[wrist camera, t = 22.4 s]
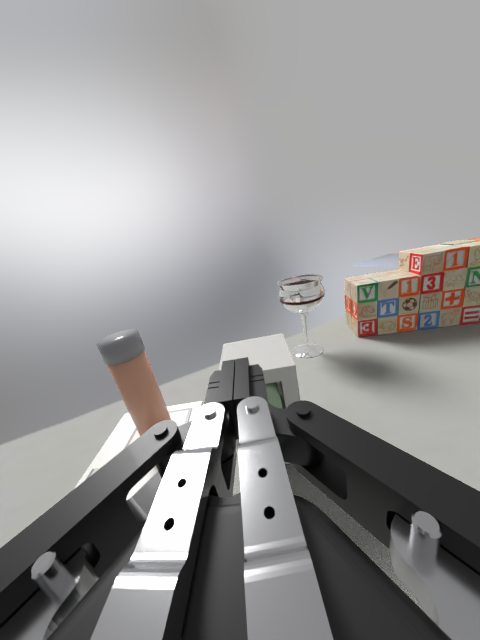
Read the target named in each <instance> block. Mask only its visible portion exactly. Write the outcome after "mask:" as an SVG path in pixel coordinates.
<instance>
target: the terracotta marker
mask: <svg viewBox="0 0 480 640" xmlns="http://www.w3.org/2000/svg"><path fill="white" fill-rule="evenodd" d="M97 347H98V349H99V351H100V353H101V355H102V357H103V360H104V362H105V363H106V365H108V368H109V370H110V372H111V374H112V376H113V378H114V381H115V383H116V385H117V387H118V389H119V392H120V394H121V396H122V398H123V400H124V402H125V405H126V407H127V409H128V411H129V413H130V415H131V418H132V420H133V422H134V424H135V426H136V429H137V431H138V433H139V435H140V436H141V435H142V434H144V433H145V432H146V431H147V430H149V429H150V428H151V427H152V426H154V425H155V424H157V423H158V422H161V421H164V420H171V417H170V415H169V412H168V410H167V407H166V405H165V402H164V399H163V397H162V394H161V392H160V389H159V386H158V384H157V381H156V379H155V376H154V374H153V371H152V369H151V366H150V363H149V361H148V358H147V355H146V353H145V347H144V345H143V342H142V340H141V337H140V334H139V332H138V330H137V329H129V330H124V331H120V332H117V333H114V334H112V335H109V336H107V337H105V338H103V339H102V340H100V341H99V342H98V343H97Z"/></svg>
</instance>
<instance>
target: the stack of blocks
mask: <svg viewBox="0 0 480 640" xmlns="http://www.w3.org/2000/svg"><path fill="white" fill-rule="evenodd" d="M345 307H346V323H347V325H348V326H349V327H350V328H351V330H352V331H353V332H354V333H355V335H356V336H357V337H362V336H370V335H376V334H377V335H381V334H390V333H396V332H406V331H415V330H421V329H429V328H437V327H445V326H453V325H463V324H471V323H479V322H480V238H475V239H469V240H457V241H451V242H445V243H441V244H440V245H433V246H427V247H421V248H416V249H410V250H405V251H400V252H399V269H398V270H392V271H386V272H379V273H373V274H367V275H362V276H355V277H350V278H345Z"/></svg>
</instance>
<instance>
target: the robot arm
mask: <svg viewBox="0 0 480 640" xmlns="http://www.w3.org/2000/svg"><path fill="white" fill-rule="evenodd" d="M238 439H239V443H240V444H238V461H239V476H240V491H241V493H239V494H236V495H234V496H233V486H234V476H235V466H236V457H237V454H236V449H235V448H236V440H238ZM284 462H288V463H293V464H294V466H295V468H296V469H297V470H298V471H299V472H300V473H301V474H302V475H304V476H305V477H306V478H307V479H308V480H309V481H311V482H312V483H313V484H314V485H315V486H316V487H318V488H319V489H320V490H321V491H322V492H323V493H325V494H326V495H327V496H328V497H329V498H330V499H332V500H333V501H334V502H335V503H336V504H337V505H339V506H340V507H341V508H342V509H343V510H344V511H346V512H347V513H348V514H349V515H350V516H351V517H353V518H354V519H355V520H356V521H357V522H358V523H360V524H361V525H362V526H363V527H364V528H365V529H367V530H368V531H369V532H370V533H371V534H372V535H374V536H375V537H376V538H377V539H378V540H379V541H381V542H382V543H383V544H384V545H385V546H386V547H388V548H389V556H390V561H391V564H392V567H393V569H394V571H395V573H396V575H397V576H398V578H399V579H400V581H401V582H402V583H403V585H404V586H405V587H406V588H407V589H408V590H409V591H410V592H411V594H412V595H413V596H414V597H415V598H416V600H417V601H418V603H419V604H420V606H421V607H422V609H423V610H421V609H420V608H419V607H418V606H417V605H416V604H415V603H414V602H413V601H412V600H411V599H410V598H409V597H408V596H407V595H406V594H405V593H404V592H403V591H402V590H401V589H400V588H399V587H398V586H397V585H396V584H395V583H394V582H393V581H392V580H391V579H390V578H389V577H388V576H387V575H386V574H385V573H384V572H383V571H382V570H381V569H380V568H379V567H378V566H377V565H376V564H375V563H374V562H373V561H372V560H371V559H370V558H369V557H368V556H367V555H366V554H365V553H364V552H363V551H362V550H361V549H360V548H359V547H358V546H357V545H356V544H355V543H354V542H353V541H352V540H351V539H350V538H349V537H348V536H347V535H346V534H345V533H344V532H343V531H342V530H341V529H340V528H339V527H338V526H337V525H336V524H335V523H334V522H333V521H332V520H331V519H330V518H329V517H328V516H327V515H326V514H325V513H324V512H322V511H321V510H320V509H319V508H318V507H316V506H315V505H314V504H312V503H311V502H309V501H307V500H306V499H303V498H301V497H299V496H296V495H293V493H292V489H291V486H290V482H289V478H288V474H287V471H286V467H285V463H284ZM155 466H156V467H157V469H158V472H157V473H156V474H155V475H154V476H153V477H152V478H151V479H149V480H148V481H147V482H146V483H145V484H144V485H143V486H142V487H141V488H140V489H139V490H138V491H137V492H136V493H135V494H134V495H133V496H132V497H131V498H130V499H128V500H126V498H127V495H128V493H129V491H130V490H131V489H132V488H133V487H134V486H135V485H136V484H137V483H138V482H139V481H140V480H141V479H142V478H143V477H144V476H145V475H146V474H147V473H148V472H149V471H151V470H152V469H153V468H154V467H155ZM0 640H480V491H478V490H476V489H474V488H472V487H470V486H468V485H466V484H464V483H463V482H461V481H459V480H457V479H455V478H453V477H451V476H449V475H448V474H446V473H444V472H442V471H440V470H438V469H436V468H434V467H432V466H431V465H429V464H427V463H425V462H423V461H421V460H419V459H417V458H416V457H414V456H412V455H410V454H408V453H406V452H404V451H402V450H401V449H399V448H397V447H395V446H393V445H391V444H389V443H387V442H385V441H384V440H382V439H380V438H378V437H376V436H374V435H372V434H370V433H369V432H367V431H365V430H363V429H361V428H359V427H357V426H355V425H353V424H352V423H350V422H348V421H346V420H344V419H342V418H340V417H338V416H337V415H335V414H333V413H331V412H329V411H327V410H325V409H323V408H321V407H320V406H318V405H316V404H314V403H312V402H309V401H296V402H293V403H291V404H290V405H289V406H288V407H287V409H282V408H277V407H274V406H273V405H271V404H270V403H269V402H268V398H267V392H266V386H265V380H264V375H263V369H262V368H261V367H260V366H259V365H258V364H255V365H250V364H249V359H248V357H245V358H239V359H236V360H235V359H233V360H227V361H223V362H222V367H221V370H218V371H215V372H214V373H213V374H212V375H211V376H210V380H209V384H208V389H207V393H206V398H205V402H204V405H203V406H202V407H200V408H199V409H198V410H197V412H196V414H195V416H194V419H193V420H192V421H190V422H188V423H185V424H183V425H180V426H177V424H176V422H175V421H173V420H164V421H161V422H158V423H157V424H155V425H154V426H152V427H151V428H150V429H149V430H147V431H146V432H145V433H144V434H142V435H141V436H140V437H139V438H137V439H136V440H135V441H134V442H132V443H131V444H130V445H129V446H127V447H126V448H125V449H124V450H122V451H121V452H120V453H119V454H117V455H116V456H115V457H114V458H112V459H111V460H110V461H109V462H107V463H106V464H105V465H104V466H102V467H101V468H100V469H99V470H97V471H96V472H95V473H94V474H92V475H91V476H90V477H89V478H88V479H86V480H85V481H84V482H83V483H81V484H80V485H79V486H78V487H76V488H75V489H74V490H73V491H71V492H70V493H69V494H68V495H66V496H65V497H64V498H63V499H61V500H60V501H59V502H58V503H56V504H55V505H54V506H53V507H51V508H50V509H49V510H48V511H46V512H45V513H44V514H43V515H41V516H40V517H39V518H38V519H36V520H35V521H34V522H33V523H31V524H30V525H29V526H28V527H26V528H25V529H24V530H23V531H22V532H20V533H19V534H18V535H17V536H15V537H14V538H13V539H12V540H10V541H9V542H8V543H7V544H5V545H4V546H3V547H2V548H0Z"/></svg>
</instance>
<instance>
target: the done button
mask: <svg viewBox="0 0 480 640" xmlns="http://www.w3.org/2000/svg"><path fill="white" fill-rule="evenodd" d="M265 386H266V392H267V398H268V402H269V403H270V404H271V405H273V406H274V407H277V408H282V403H281V398H280V394H279V389H278V385H277V382H273V383H267V384H265Z"/></svg>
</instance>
